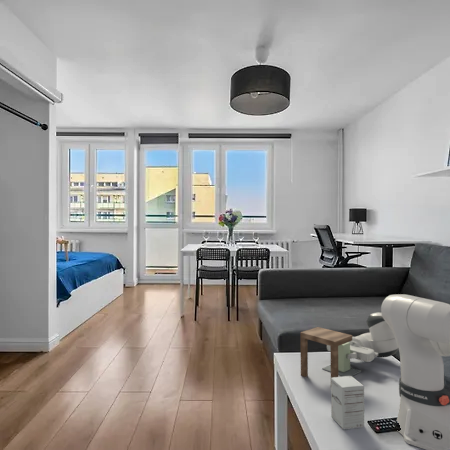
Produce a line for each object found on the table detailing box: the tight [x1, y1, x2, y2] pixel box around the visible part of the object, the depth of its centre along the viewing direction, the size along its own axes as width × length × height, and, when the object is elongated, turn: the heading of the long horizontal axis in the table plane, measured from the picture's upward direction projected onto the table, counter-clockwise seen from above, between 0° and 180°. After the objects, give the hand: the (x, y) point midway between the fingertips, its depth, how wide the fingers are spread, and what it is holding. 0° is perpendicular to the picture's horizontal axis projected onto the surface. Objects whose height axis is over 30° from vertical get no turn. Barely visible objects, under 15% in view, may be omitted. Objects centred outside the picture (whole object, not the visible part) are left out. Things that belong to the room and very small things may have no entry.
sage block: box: [338, 342, 351, 372], centre depth 148 cm, size 5×5×11 cm
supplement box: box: [330, 376, 365, 430], centre depth 109 cm, size 7×7×13 cm
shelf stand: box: [299, 326, 353, 379], centre depth 141 cm, size 16×12×18 cm
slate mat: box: [321, 364, 362, 377], centre depth 148 cm, size 12×10×1 cm
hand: (340, 354), depth 148 cm, fingers closed on sage block, 5 cm apart
